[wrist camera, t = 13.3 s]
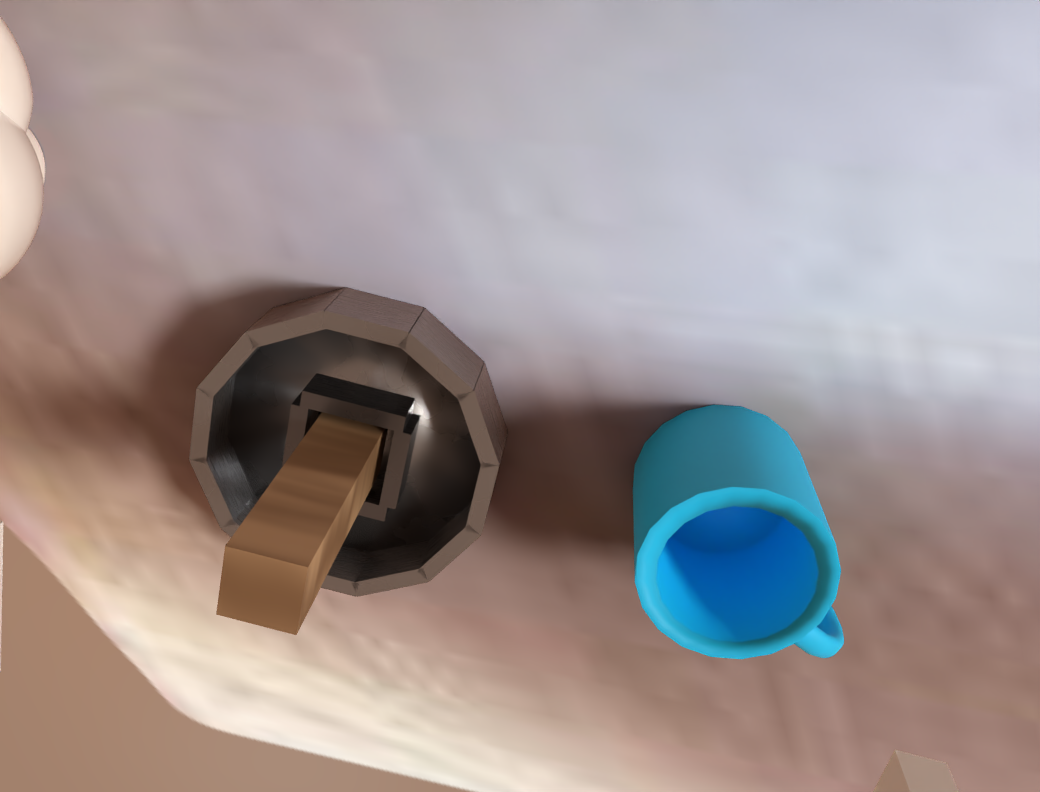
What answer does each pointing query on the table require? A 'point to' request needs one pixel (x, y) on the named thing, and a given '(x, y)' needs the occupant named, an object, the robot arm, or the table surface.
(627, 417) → the table surface
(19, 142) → the teapot
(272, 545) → the square wooden stick
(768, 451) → the mug
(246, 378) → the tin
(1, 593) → the robot arm
